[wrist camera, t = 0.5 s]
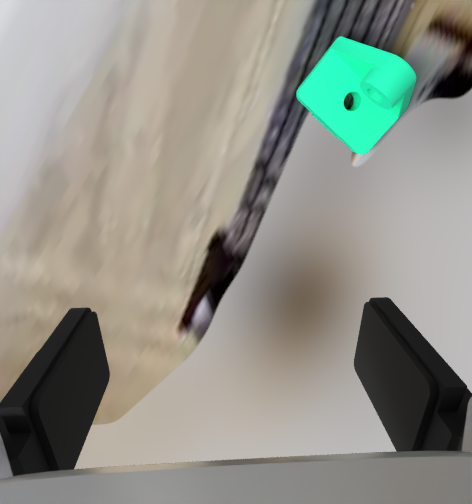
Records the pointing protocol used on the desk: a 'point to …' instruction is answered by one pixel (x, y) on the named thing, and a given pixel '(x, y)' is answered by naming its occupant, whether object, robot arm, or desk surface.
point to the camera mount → (358, 92)
